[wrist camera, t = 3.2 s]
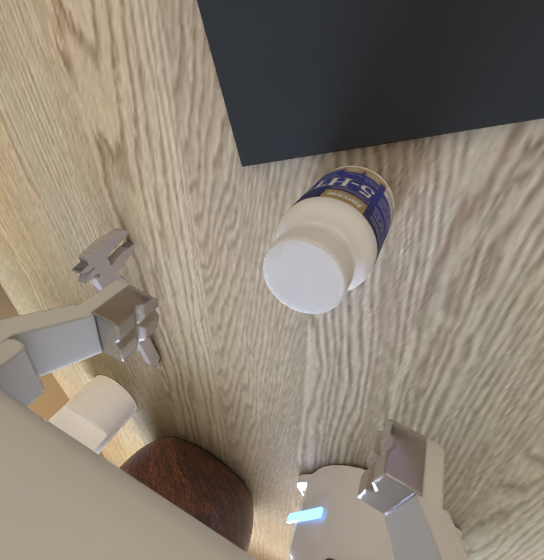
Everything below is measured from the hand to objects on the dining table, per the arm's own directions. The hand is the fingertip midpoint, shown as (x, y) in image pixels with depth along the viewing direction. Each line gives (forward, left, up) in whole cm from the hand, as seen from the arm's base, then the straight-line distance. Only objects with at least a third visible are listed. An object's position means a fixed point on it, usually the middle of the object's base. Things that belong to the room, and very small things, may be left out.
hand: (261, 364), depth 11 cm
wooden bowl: (-47, +32, -14) cm, 59 cm away
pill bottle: (0, 0, -14) cm, 14 cm away
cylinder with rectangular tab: (-30, +44, -14) cm, 56 cm away
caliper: (-10, +25, -14) cm, 31 cm away
